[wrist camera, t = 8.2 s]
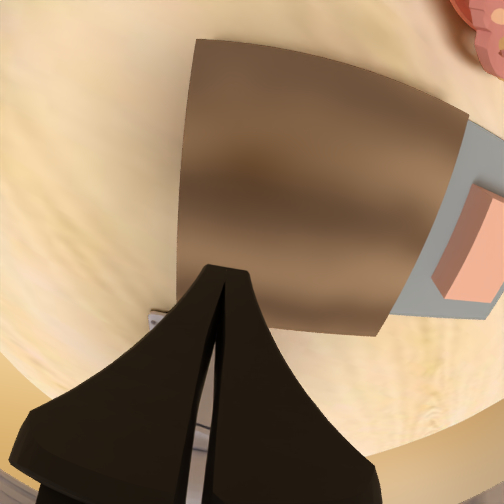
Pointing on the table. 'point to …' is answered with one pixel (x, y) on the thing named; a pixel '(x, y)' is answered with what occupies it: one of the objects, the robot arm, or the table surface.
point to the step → (310, 182)
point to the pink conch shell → (486, 31)
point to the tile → (474, 250)
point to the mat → (464, 175)
